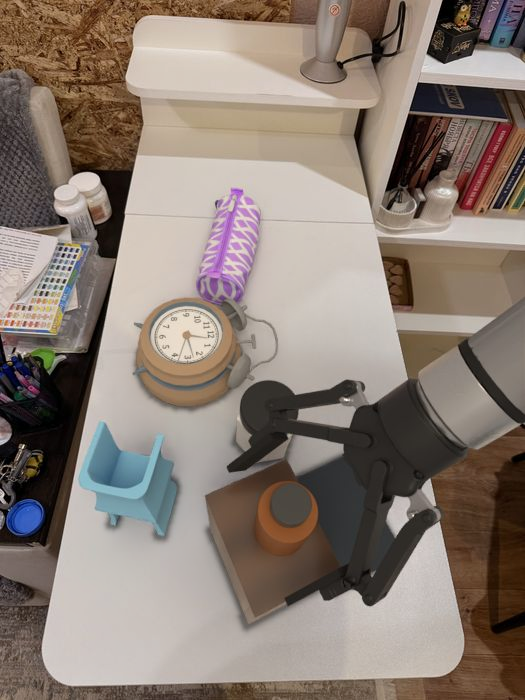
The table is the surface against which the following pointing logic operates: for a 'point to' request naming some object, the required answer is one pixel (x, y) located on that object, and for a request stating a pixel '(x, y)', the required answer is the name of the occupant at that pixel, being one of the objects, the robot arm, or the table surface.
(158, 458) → the blue doll chair
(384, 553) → the mat
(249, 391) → the jar
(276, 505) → the spice bottle
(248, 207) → the pencil case
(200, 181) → the table surface
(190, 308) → the alarm clock
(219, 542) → the block
